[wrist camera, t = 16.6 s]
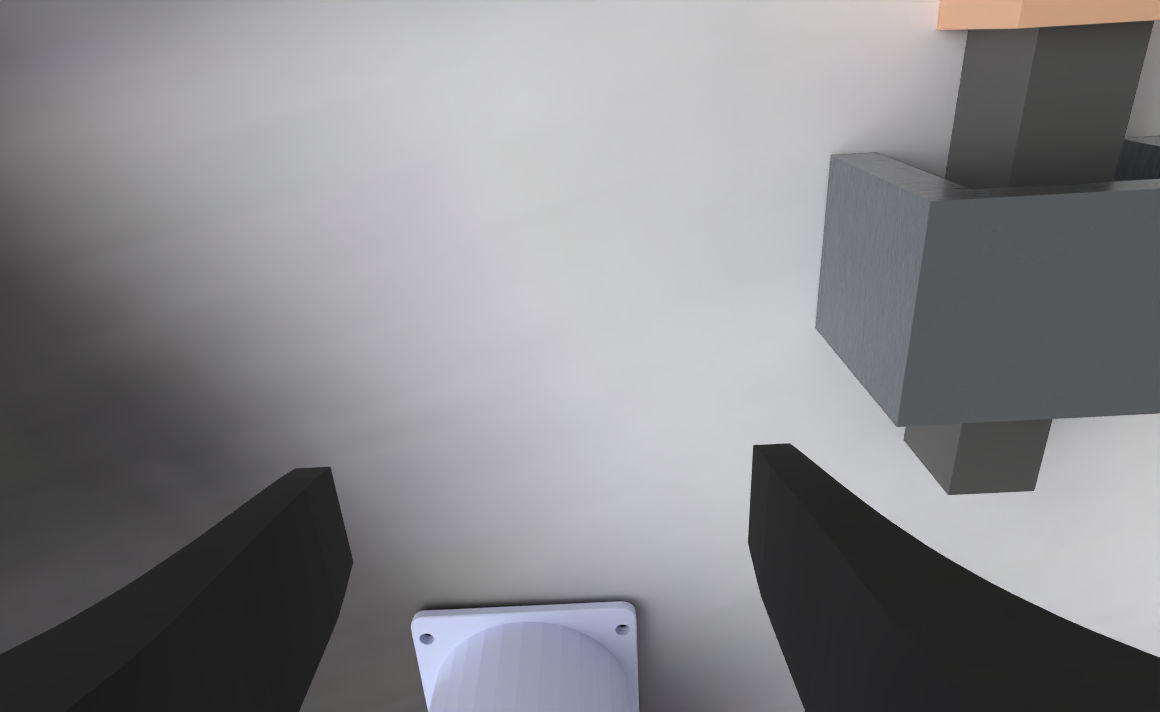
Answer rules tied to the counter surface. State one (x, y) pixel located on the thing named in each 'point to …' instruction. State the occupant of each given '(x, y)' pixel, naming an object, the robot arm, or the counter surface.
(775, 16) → the counter surface
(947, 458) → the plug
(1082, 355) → the housing
